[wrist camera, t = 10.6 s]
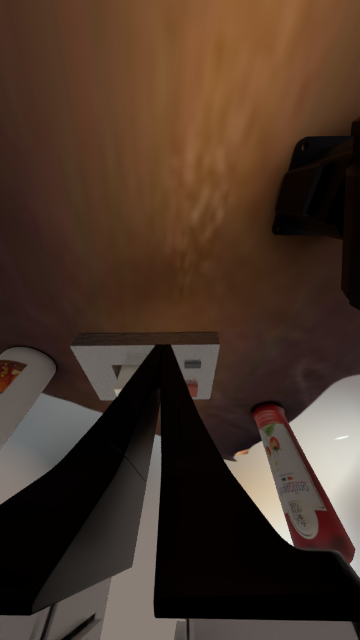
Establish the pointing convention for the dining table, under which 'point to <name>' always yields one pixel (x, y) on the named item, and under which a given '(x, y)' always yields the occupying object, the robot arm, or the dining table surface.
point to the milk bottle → (21, 385)
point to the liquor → (299, 487)
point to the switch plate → (132, 348)
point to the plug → (124, 376)
